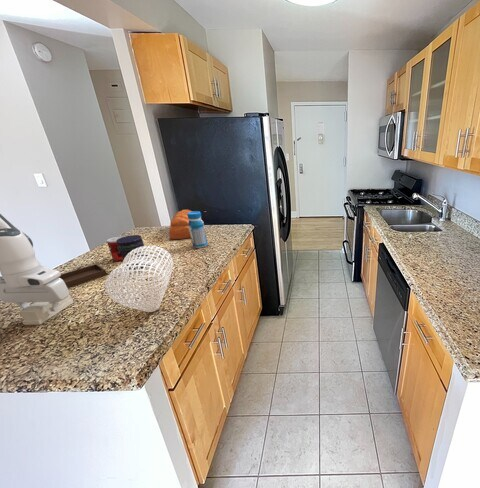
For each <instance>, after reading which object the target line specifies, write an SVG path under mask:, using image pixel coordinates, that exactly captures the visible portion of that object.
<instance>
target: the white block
mask: <svg viewBox="0 0 480 488" xmlns="http://www.w3.org/2000/svg"><path fill="white" fill-rule="evenodd" d="M73 303H75V302H74V299H73V298H72V295H69V296H68V297H67V298H66V299H64V300H62V301H60V302H59V305H58V306H59V308H60V309H59V310H58V311H56V312H51V311H50V309H49V308H50V307H52V304H50V303H49V302H33V303H32V304H30V305H31V306H29V307H27V308H25V309H24V310H23V309H21V310H20V311H19V313H20V316H21V317H22V319H23V320H22V321H21V323H22V324H23V325H24V326H33V325H34V326H35V325H36V326H37V325H38V326H39V325H42V324H43V323H45V322H46V321H48V320H50V319H51V318H53V317H55V315H57V314H59V313H60V312H61V311H63V310H64V309H66V308H68V307H69V306H71V305H72V304H73Z"/></svg>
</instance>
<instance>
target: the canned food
mask: <svg viewBox="0 0 480 488" xmlns="http://www.w3.org/2000/svg"><path fill="white" fill-rule="evenodd" d="M122 237H124V236H122V235H121V236H114V237H110V238H108V239H106V244H107V247H108V249H109V252H110V255H111V258H112V259H113V261H114V262H123V258H122V254H121V253H120V251H119V248H118V244H117V241H116V240H117V239H119V238H122Z"/></svg>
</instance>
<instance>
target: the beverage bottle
mask: <svg viewBox="0 0 480 488" xmlns="http://www.w3.org/2000/svg"><path fill="white" fill-rule="evenodd" d="M187 215H188V219H189V223H188V226H189V231H190V235H191V237H190V239H191V244H192V245H191V246H192V247H193V248H194V249H201V248H205V247H207V246H209V245H208V244H209V243H208V239H207V233H206V225H205V223H204V221H203V220H202V213H201V211H199V210H194V211H193V212H189V213H187Z"/></svg>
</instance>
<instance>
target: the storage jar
mask: <svg viewBox="0 0 480 488" xmlns="http://www.w3.org/2000/svg"><path fill="white" fill-rule="evenodd" d="M142 237H143V236H142V235H140V234H132V235H127V236H126V235H125V236H123V237H122V238H119V239H117V240H116V241H117V244H118V248H119V251H120V253H121V254H122V258H123V260H124V258H125V257H126V255H127V254H128V253H129V252H131V251H132V250H134V249H136V248H139V247H142V246H145V243H144V240H143V238H142ZM144 250H146V249H144ZM137 251H138V250H137ZM141 251H142V250H141ZM135 252H136V251H135ZM132 253H134V252H132ZM139 253H141V252H139ZM139 253H138V254H139ZM142 253H143V252H142ZM135 255H137V253H135ZM132 256H133V255H132ZM132 256H131V257H132ZM142 256H144V255H141V257H142ZM145 256H148V255H145ZM137 257H140V255H139V256H137ZM135 258H136V257H135ZM128 259H129V258H128ZM130 259H131V258H130ZM137 259H139V258H137ZM144 259H146V258H144ZM133 260H135V259H133ZM128 261H129V260H128ZM129 262H130V261H129ZM124 263H125V262H124ZM135 263H136V262H135ZM143 263H145V262H143ZM148 264H150V263H148ZM132 265H134V264H132ZM132 265H131V266H132ZM136 265H139V264H136ZM142 265H143V264H142ZM144 265H145V264H144ZM127 266H129V264H128V265H127ZM146 266H147V264H146ZM148 266H150V265H148ZM132 268H133V267H132ZM136 268H137V269H138V267H136ZM143 268H144V267H141V269H143ZM145 268H146V267H145ZM125 269H126V268H125ZM130 269H131V267H129V270H130ZM146 269H147V268H146ZM133 270H136V269H135V268H134V269H133ZM139 270H140V268H139ZM126 271H127V269H126Z"/></svg>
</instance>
